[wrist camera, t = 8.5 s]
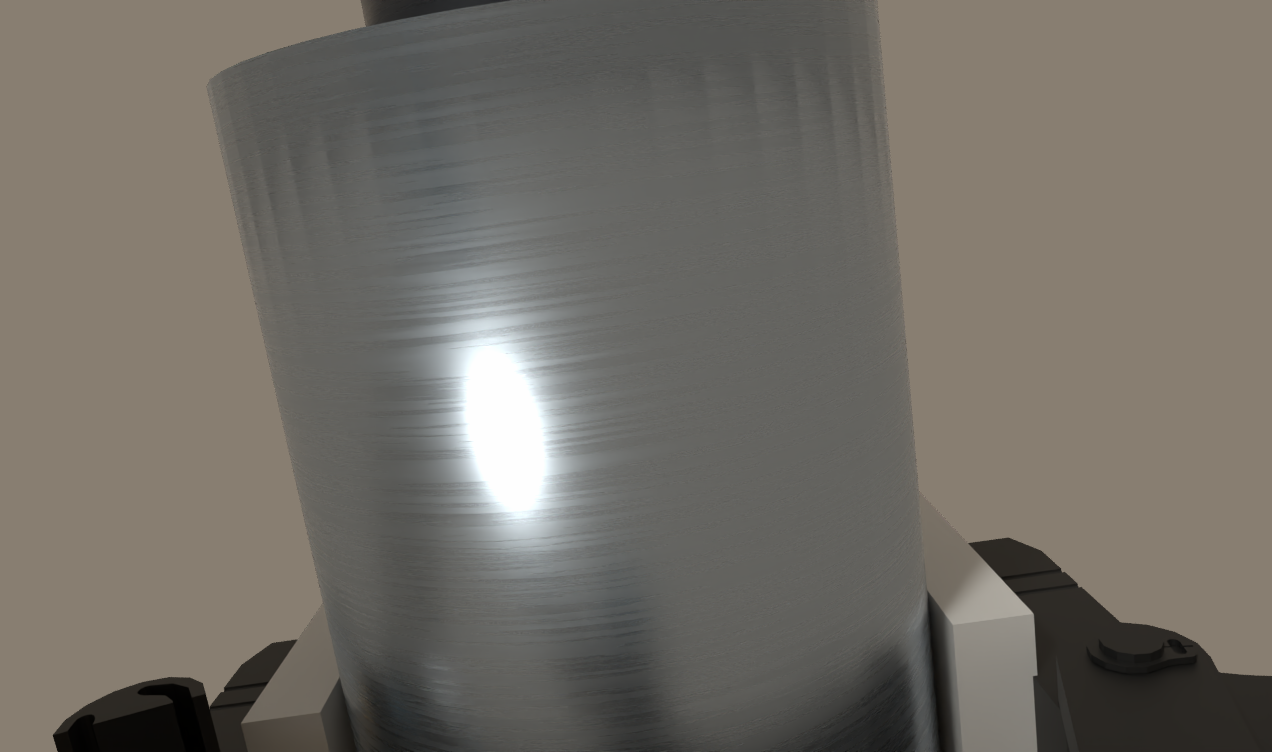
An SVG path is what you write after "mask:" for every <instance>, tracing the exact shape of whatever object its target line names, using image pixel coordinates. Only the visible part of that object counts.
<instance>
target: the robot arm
mask: <svg viewBox="0 0 1272 752" xmlns="http://www.w3.org/2000/svg"><path fill="white" fill-rule="evenodd" d="M919 500H920V512H921V524H922V536H923V548H924V559H925V571H926V583H927V595H928V607H929V618H930V630H931V642H932V654H933V666H934V677H935V689H936V701H937V713H938V725H939V737H940V748H941V752H1272V676H1254V675H1238V674H1228V673H1220V672H1218V670H1217V668H1216V666H1215V665H1214V663H1213V661H1212V659H1211V657H1210V656H1209V655H1208V654H1207V653H1206V652H1205V651H1204V650H1203V649H1202V648H1201V647H1200V645H1198V643H1196V642H1194V641H1192V640H1190V639H1188V638H1186V637H1184V636H1182V635H1180V634H1178V633H1176V632H1173V631H1169V630H1165V629H1161V628H1158V627H1154V626H1150V625H1142V624H1131V623H1121V622H1119V621H1118V620H1117V619H1116V618H1115V617H1114V616H1113V615H1112V614H1110V613H1109V612H1108V611H1107V610H1106V609H1105V608H1104V607H1103V606H1102V605H1101V604H1099V603H1098V602H1097V601H1096V600H1095V599H1094V598H1093V597H1092V596H1091V595H1090V594H1088V593H1087V592H1086V591H1085V590H1084V589H1083V588H1082V587H1080V588H1078V584H1077V583H1076V582H1075V581H1074V580H1073V579H1072V578H1071V577H1070V576H1069V575H1067V574H1066V573H1065V572H1063V573H1062V571H1061V568H1060V567H1059V566H1057V565H1056V564H1055V563H1054V562H1053V561H1052V560H1051V559H1050V558H1049V557H1048V556H1046V555H1045V554H1044V553H1043V552H1042V551H1040V550H1038V549H1035V548H1033V547H1030V546H1028V545H1025V544H1023V543H1020V542H1018V541H1015V540H1013V539H1010V538H1002V539H996V540H989V541H981V542H974V543H967V542H966V541H965V540H964V538H962V536H961V535H960V534H959V533H958V532H957V531H956V530H955V529H954V528H953V527H952V526H951V525H950V523H949V522H948V521H947V520H946V519H945V518H944V517H943V516H942V515H941V514H940V513H939V512H938V511H937V510H936V508H935V507H934V506H933V505H931V503H930V502H929V501H928V500H927V499H926V498H925V497H924V496H923V495H922V494H921V493H920V491H919ZM53 737H54V741H55V744H56V748H57V751H58V752H357V750H356V746H355V742H354V737H353V733H352V728H351V724H350V720H349V715H348V711H347V706H346V702H345V697H344V693H343V689H342V684H341V680H340V675H339V671H338V666H337V662H336V658H335V653H334V649H333V644H332V640H331V635H330V631H329V627H328V622H327V618H326V613H325V609H324V604H323V603H322V605H321V607H320V608H319V609H318V611H317V612H316V614H315V615H314V617H313V618H312V620H311V621H310V623H309V624H308V625H307V627H306V628H305V630H304V631H303V633H302V634H301V636H300V637H299V639H298V640H291V641H284V642H276V643H272V644H270V645H269V646H267V647H266V648H265V649H263V650H262V651H260V652H259V653H258V654H256V655H255V656H253V657H252V658H251V659H249V660H248V661H246V662H245V663H244V664H242V665H241V666H240V668H239V669H238V670H237V672H236V673H235V674H234V675H233V677H232V678H231V679H230V681H229V682H228V683H227V685H226V686H225V687H224V692H221V693H220V694H219V695H218V697H217V698H216V699H215V701H214V702H213V703H212V705H211V706H210V709H209V705H208V701H207V697H206V693H205V690H204V686H203V683H201V682H199V681H196V680H194V679H192V678H178V677H168V678H162V679H157V680H152V681H146V682H142V683H138V684H136V685H133V686H129V687H126V688H124V689H121V690H118V691H115V692H112V693H110V694H108V695H106V696H104V697H102V698H100V699H98V700H96V701H94V702H92V703H90V704H88V705H86V706H85V707H83V708H82V709H80V710H79V711H78V712H76V713H75V714H73V715H72V716H71V717H69V718H68V719H66V720H65V721H64V722H63V723H62V725H61V726H60V727H59V728H58V729H57V731H56V732H55V733H54V734H53Z"/></svg>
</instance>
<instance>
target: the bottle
mask: <svg viewBox="0 0 1272 752" xmlns="http://www.w3.org/2000/svg"><path fill="white" fill-rule="evenodd" d="M361 3H362V9H363V14H364V19H365V25H366V27H363V28H358V29H354V30H349V31H345V32H341V33H337V34H333V35H329V36H325V37H321V38H317V39H313V40H309V41H305V42H301V43H298V44H295V45H291V46H288V47H284V48H281V49H278V50H274V51H271V52H267V53H265V54H262V55H259V56H257V57H254V58H251V59H248V60H246V61H243V62H240V63H238V64H236V65H234V66H232V67H230V68H227V69H225V70H223V71H221V72H220V73H219V74H217V75H216V76H214V77H213V78H212V79H211V80H210V81H209V83H208V85H207V91H208V96H209V99H210V104H211V108H212V113H213V118H214V122H215V126H216V131H217V135H218V140H219V144H220V148H221V153H222V157H223V162H224V166H225V170H226V175H227V179H228V184H229V188H230V193H231V197H232V202H233V206H234V210H235V215H236V219H237V224H238V228H239V233H240V237H241V241H242V246H243V250H244V255H245V259H246V263H247V268H248V273H249V277H250V281H251V285H252V290H253V295H254V299H255V303H256V308H257V312H258V317H259V321H260V326H261V330H262V334H263V339H264V343H265V348H266V352H267V357H268V361H269V365H270V370H271V374H272V378H273V383H274V387H275V392H276V396H277V401H278V405H279V410H280V414H281V419H282V423H283V427H284V432H285V436H286V441H287V445H288V449H289V454H290V458H291V463H292V467H293V471H294V476H295V480H296V485H297V489H298V493H299V498H300V503H301V507H302V512H303V516H304V520H305V525H306V529H307V534H308V538H309V542H310V547H311V551H312V556H313V560H314V565H315V569H316V573H317V578H318V582H319V587H320V591H321V596H322V600H323V604H324V609H325V613H326V618H327V622H328V627H329V631H330V635H331V640H332V644H333V649H334V653H335V658H336V662H337V666H338V671H339V675H340V680H341V684H342V689H343V693H344V697H345V702H346V706H347V711H348V715H349V720H350V724H351V728H352V733H353V737H354V742H355V746H356V750H357V752H941V748H940V737H939V725H938V713H937V701H936V689H935V677H934V666H933V654H932V642H931V630H930V618H929V607H928V595H927V583H926V571H925V559H924V548H923V536H922V524H921V512H920V500H919V489H918V477H917V466H916V453H915V442H914V430H913V418H912V406H911V394H910V382H909V370H908V359H907V348H906V336H905V324H904V311H903V300H902V288H901V277H900V264H899V253H898V241H897V229H896V218H895V205H894V194H893V183H892V170H891V158H890V146H889V134H888V123H887V111H886V99H885V87H884V75H883V63H882V52H881V40H880V29H879V17H878V5H877V0H361Z"/></svg>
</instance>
